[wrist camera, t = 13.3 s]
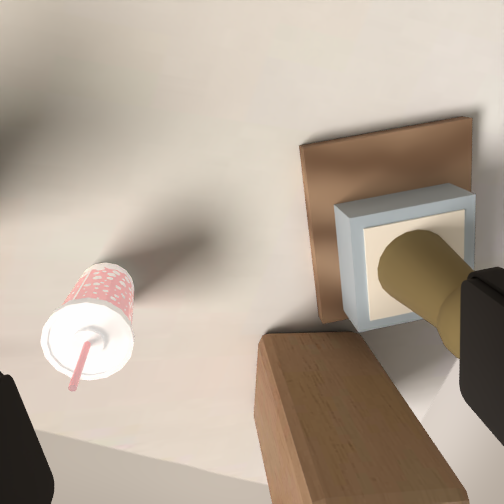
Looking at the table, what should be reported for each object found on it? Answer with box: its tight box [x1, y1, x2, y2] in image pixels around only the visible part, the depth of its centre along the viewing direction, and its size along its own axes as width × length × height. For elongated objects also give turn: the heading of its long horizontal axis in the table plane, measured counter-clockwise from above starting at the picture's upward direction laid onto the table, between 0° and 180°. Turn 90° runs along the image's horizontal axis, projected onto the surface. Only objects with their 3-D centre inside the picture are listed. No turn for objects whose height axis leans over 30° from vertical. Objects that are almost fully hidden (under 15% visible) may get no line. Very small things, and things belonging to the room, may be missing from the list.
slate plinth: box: [334, 183, 476, 332], centre depth 40 cm, size 10×10×4 cm
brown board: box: [299, 116, 472, 324], centre depth 42 cm, size 16×14×2 cm
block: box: [254, 332, 469, 504], centre depth 38 cm, size 10×10×20 cm
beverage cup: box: [41, 262, 135, 391], centre depth 34 cm, size 6×6×14 cm
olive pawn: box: [377, 230, 474, 359], centre depth 33 cm, size 6×6×11 cm
